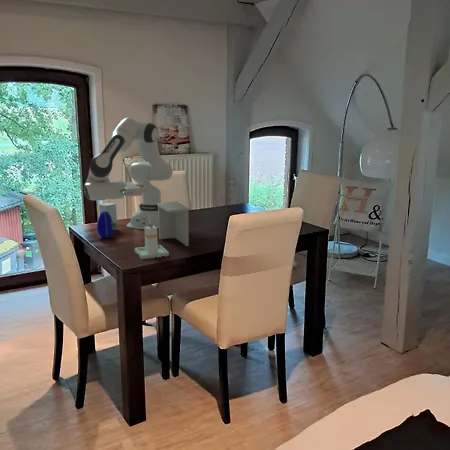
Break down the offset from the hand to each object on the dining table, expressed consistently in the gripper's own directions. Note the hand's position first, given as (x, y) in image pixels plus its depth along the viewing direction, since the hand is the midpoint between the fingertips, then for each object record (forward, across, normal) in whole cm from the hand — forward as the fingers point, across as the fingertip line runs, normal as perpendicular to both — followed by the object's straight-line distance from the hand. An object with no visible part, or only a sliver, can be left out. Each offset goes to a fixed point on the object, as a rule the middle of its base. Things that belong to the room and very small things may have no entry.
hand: (146, 187), depth 244 cm
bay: (+16, +7, +32) cm, 37 cm away
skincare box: (-10, +47, +32) cm, 58 cm away
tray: (-1, -8, +32) cm, 33 cm away
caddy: (-1, -8, +31) cm, 32 cm away
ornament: (-15, +31, +32) cm, 47 cm away
